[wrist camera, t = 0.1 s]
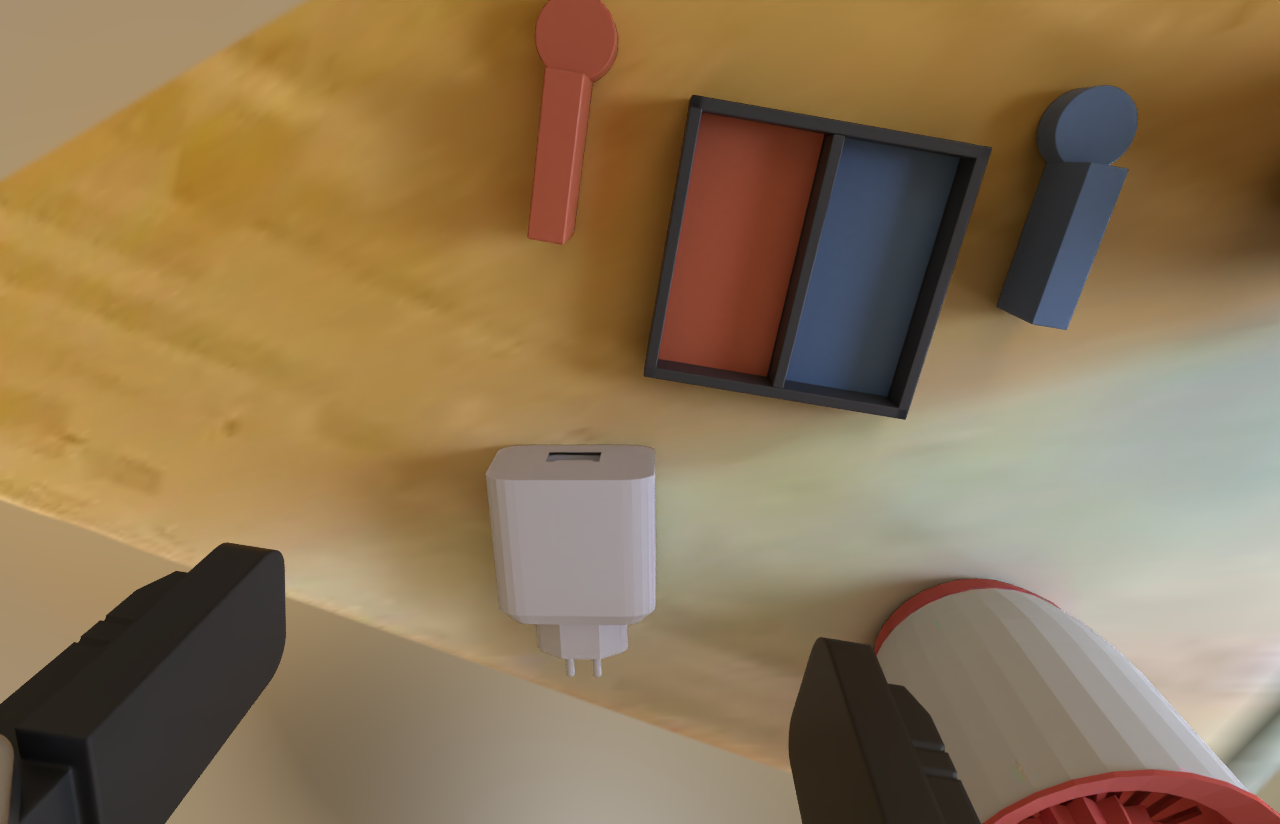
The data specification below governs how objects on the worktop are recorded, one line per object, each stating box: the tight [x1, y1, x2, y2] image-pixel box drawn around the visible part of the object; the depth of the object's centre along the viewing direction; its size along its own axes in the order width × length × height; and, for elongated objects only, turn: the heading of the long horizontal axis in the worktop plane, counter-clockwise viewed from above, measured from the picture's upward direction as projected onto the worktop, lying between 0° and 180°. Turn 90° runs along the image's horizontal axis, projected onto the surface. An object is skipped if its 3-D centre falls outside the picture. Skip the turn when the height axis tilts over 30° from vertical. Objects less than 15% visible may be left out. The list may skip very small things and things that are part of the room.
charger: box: [486, 445, 656, 677], centre depth 43 cm, size 5×9×15 cm
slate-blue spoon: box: [997, 85, 1138, 330], centre depth 35 cm, size 4×11×4 cm, turn 171°
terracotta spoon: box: [528, 0, 618, 244], centre depth 34 cm, size 4×11×4 cm, turn 171°
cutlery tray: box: [644, 95, 992, 420], centre depth 37 cm, size 14×14×2 cm
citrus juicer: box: [874, 578, 1280, 824], centre depth 37 cm, size 16×17×20 cm
